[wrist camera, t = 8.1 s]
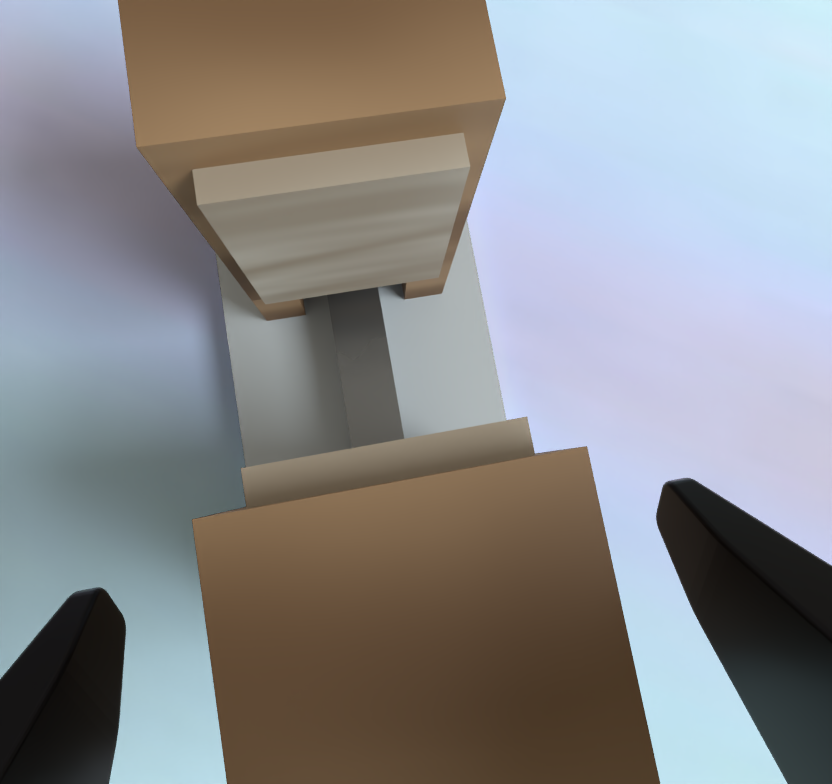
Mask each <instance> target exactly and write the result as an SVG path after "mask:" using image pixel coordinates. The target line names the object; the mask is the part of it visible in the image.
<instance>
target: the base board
mask: <svg viewBox="0 0 832 784" xmlns="http://www.w3.org/2000/svg"><path fill="white" fill-rule="evenodd" d="M215 253H216V252H215ZM216 260H217V268H218V275H219V282H220V289H221V296H222V303H223V310H224V317H225V324H226V331H227V338H228V346H229V353H230V360H231V367H232V374H233V381H234V388H235V395H236V402H237V409H238V416H239V424H240V431H241V438H242V445H243V452H244V459H245V466H246V467H250V466H256V465H261V464H267V463H272V462H278V461H283V460H289V459H295V458H300V457H306V456H311V455H317V454H322V453H328V452H334V451H339V450H345V449H350V448H352V444H351V438H350V432H349V426H348V420H347V414H346V408H345V402H344V396H343V389H342V383H341V377H340V371H339V365H338V359H337V353H336V347H335V341H334V334H333V328H332V322H331V316H330V310H329V304H328V298H327V295H323V296H317V297H310V298H304V299H303V300H304V306H305V312H306V315H303V316H297V317H290V318H284V319H277V320H271V321H267V320H266V319H265V318H264V316H263V315H262V314H261V312H260V311H259V310H258V308H257V307H256V306H255V304H254V303H253V302H252V300H251V299H250V298H249V296H248V295H247V294H246V292H245V291H244V290H243V288H242V287H241V286H240V284H239V283H238V282H237V280H236V279H235V278H234V276H233V275H232V274H231V272H230V271H229V270H228V268H227V267H226V266H225V264H224V263H223V262H222V260H221V259H220V258H219V256H218V255H217V254H216ZM378 291H379V296H380V302H381V308H382V314H383V319H384V325H385V331H386V336H387V342H388V348H389V354H390V359H391V365H392V371H393V376H394V382H395V388H396V394H397V399H398V405H399V411H400V416H401V422H402V428H403V434H404V439H406V438H411V437H417V436H423V435H428V434H434V433H439V432H445V431H450V430H456V429H462V428H467V427H473V426H478V425H484V424H489V423H495V422H501V421H506V415H505V410H504V405H503V400H502V395H501V390H500V385H499V380H498V375H497V370H496V365H495V360H494V355H493V349H492V344H491V339H490V334H489V329H488V324H487V319H486V314H485V309H484V304H483V299H482V294H481V289H480V283H479V278H478V273H477V268H476V263H475V258H474V253H473V248H472V243H471V238H470V233H469V228H468V223H467V219H466V222H465V225H464V228H463V231H462V234H461V237H460V240H459V243H458V246H457V249H456V252H455V255H454V258H453V261H452V265H451V268H450V271H449V274H448V277H447V280H446V283H445V286H444V289H443V292H442V294H437V295H430V296H424V297H418V298H411V299H405V300H404V294H403V289H402V283H401V284H394V285H388V286H381V287H378Z"/></svg>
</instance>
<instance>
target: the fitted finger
mask: <svg viewBox="0 0 832 784" xmlns="http://www.w3.org/2000/svg"><path fill="white" fill-rule="evenodd" d="M118 5H119V13H120V21H121V29H122V37H123V45H124V52H125V60H126V68H127V76H128V84H129V92H130V100H131V108H132V116H133V123H134V131H135V139H136V147H137V149H138V150H139V151H140V153H141V154H142V155H143V157H144V158H145V159H146V160H147V162H148V163H149V164H150V166H151V167H152V168H153V170H154V171H155V172H156V174H157V175H158V176H159V178H160V179H161V180H162V182H163V183H164V184H165V186H166V187H167V188H168V190H169V191H170V192H171V194H172V195H173V196H174V198H175V199H176V200H177V202H178V203H179V204H180V206H181V207H182V208H183V210H184V211H185V212H186V214H187V215H188V216H189V218H190V219H191V220H192V222H193V223H194V224H195V226H196V227H197V228H198V230H199V231H200V232H201V234H202V235H203V236H204V238H205V239H206V240H207V242H208V243H209V244H210V246H211V247H212V248H213V250H214V251H215V252H216V254H217V255H218V256H219V258H220V259H221V260H222V262H223V263H224V264H225V266H226V267H227V268H228V270H229V271H230V272H231V274H232V275H233V276H234V278H235V279H236V280H237V282H238V283H239V284H240V286H241V287H242V288H243V290H244V291H245V292H246V294H247V295H248V296H249V298H250V299H251V300H252V302H253V303H254V304H255V306H256V307H257V308H258V310H259V311H260V312H261V314H262V315H263V316H264V318H265V319H266V320H267V321H271V320H277V319H284V318H290V317H297V316H303V315H306V312H305V306H304V300H303V299H304V298H310V297H317V296H323V295H330V294H336V293H343V292H349V291H356V290H362V289H368V288H375V287H381V286H388V285H394V284H401V283H402V289H403V294H404V300H405V299H411V298H418V297H424V296H430V295H437V294H442V292H443V289H444V286H445V283H446V280H447V277H448V274H449V271H450V268H451V265H452V261H453V258H454V255H455V252H456V249H457V246H458V243H459V240H460V237H461V234H462V231H463V228H464V225H465V222H466V219H467V216H468V213H469V210H470V207H471V203H472V200H473V197H474V194H475V191H476V188H477V185H478V182H479V179H480V176H481V173H482V170H483V167H484V164H485V161H486V158H487V155H488V152H489V148H490V145H491V142H492V139H493V136H494V133H495V130H496V127H497V124H498V121H499V118H500V115H501V112H502V109H503V106H504V103H505V100H506V96H505V91H504V87H503V82H502V77H501V72H500V68H499V63H498V58H497V53H496V49H495V44H494V39H493V34H492V30H491V25H490V20H489V16H488V11H487V6H486V1H485V0H118Z"/></svg>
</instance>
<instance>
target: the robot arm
mask: <svg viewBox="0 0 832 784" xmlns="http://www.w3.org/2000/svg"><path fill="white" fill-rule="evenodd" d="M656 520H657V525H658V528H659V531H660V533H661V536H662V538H663V541H664V543H665V545H666V548H667V550H668V553H669V555H670V557H671V560H672V562H673V565H674V567H675V569H676V572H677V574H678V577H679V579H680V581H681V584H682V586H683V588H684V591H685V593H686V596H687V598H688V600H689V603H690V605H691V607H692V609H693V611H694V613H695V615H696V617H697V619H698V621H699V623H700V625H701V627H702V629H703V631H704V632H705V634H706V636H707V638H708V640H709V641H710V643H711V645H712V647H713V649H714V651H715V652H716V654H717V656H718V658H719V660H720V661H721V663H722V665H723V667H724V669H725V671H726V672H727V674H728V676H729V678H730V680H731V681H732V683H733V685H734V687H735V689H736V691H737V692H738V694H739V696H740V698H741V700H742V701H743V703H744V705H745V707H746V709H747V711H748V712H749V714H750V716H751V718H752V720H753V721H754V723H755V725H756V727H757V729H758V731H759V732H760V734H761V736H762V738H763V740H764V741H765V743H766V745H767V747H768V749H769V751H770V752H771V754H772V756H773V758H774V760H775V761H776V763H777V765H778V767H779V769H780V771H781V772H782V774H783V776H784V778H785V780H786V782H787V783H788V784H832V566H831V565H830V564H828V563H827V562H825V561H823V560H822V559H820V558H819V557H817V556H815V555H814V554H812V553H811V552H809V551H807V550H806V549H804V548H803V547H801V546H799V545H798V544H796V543H795V542H793V541H791V540H790V539H788V538H787V537H785V536H783V535H782V534H780V533H779V532H777V531H775V530H774V529H772V528H771V527H769V526H767V525H766V524H764V523H763V522H761V521H759V520H758V519H756V518H755V517H753V516H751V515H750V514H748V513H747V512H745V511H743V510H742V509H740V508H739V507H737V506H735V505H734V504H732V503H731V502H729V501H727V500H726V499H724V498H723V497H721V496H719V495H718V494H716V493H715V492H713V491H711V490H710V489H708V488H707V487H705V486H703V485H702V484H700V483H699V482H697V481H695V480H693V479H691V478H682V479H677V480H671V481H667V482H666V483H665V484H664V485H663V488H662V492H661V496H660V500H659V504H658V509H657V513H656ZM125 636H126V625H125V620H124V617H123V615H122V613H121V612H120V610H119V609H118V607H117V606H116V605H115V603H114V602H113V600H112V599H111V597H110V596H109V594H108V593H107V591H106V590H105V589H103V588H100V587H98V588H92V589H87V590H81V591H77V592H75V593H73V594H72V595H71V596H69V598H68V599H67V600H66V601H65V602H64V603H63V605H62V606H61V607H60V608H59V609H58V611H57V612H56V613H55V614H54V615H53V617H52V618H51V619H50V620H49V621H48V623H47V624H46V625H45V626H44V627H43V629H42V630H41V631H40V632H39V633H38V635H37V636H36V637H35V638H34V639H33V641H32V642H31V643H30V644H29V645H28V647H27V648H26V649H25V650H24V651H23V653H22V654H21V655H20V656H19V657H18V659H17V660H16V661H15V662H14V663H13V665H12V666H11V667H10V668H9V669H8V671H7V672H6V673H5V674H4V675H3V677H2V678H1V679H0V784H109V780H110V775H111V769H112V764H113V758H114V753H115V747H116V741H117V735H118V728H119V718H120V706H121V692H122V678H123V664H124V650H125Z"/></svg>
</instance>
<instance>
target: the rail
mask: <svg viewBox="0 0 832 784" xmlns="http://www.w3.org/2000/svg"><path fill="white" fill-rule="evenodd" d="M327 298H328V304H329V310H330V316H331V322H332V328H333V334H334V341H335V347H336V353H337V359H338V365H339V371H340V377H341V383H342V389H343V396H344V402H345V408H346V414H347V420H348V426H349V432H350V438H351V444H352V448H356V447H361V446H367V445H373V444H378V443H384V442H389V441H395V440H400V439H404V434H403V428H402V422H401V416H400V411H399V405H398V399H397V394H396V388H395V382H394V376H393V371H392V365H391V359H390V354H389V348H388V342H387V336H386V331H385V325H384V319H383V314H382V308H381V302H380V296H379V291H378V287H375V288H368V289H362V290H356V291H349V292H343V293H336V294H330V295H327Z"/></svg>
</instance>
